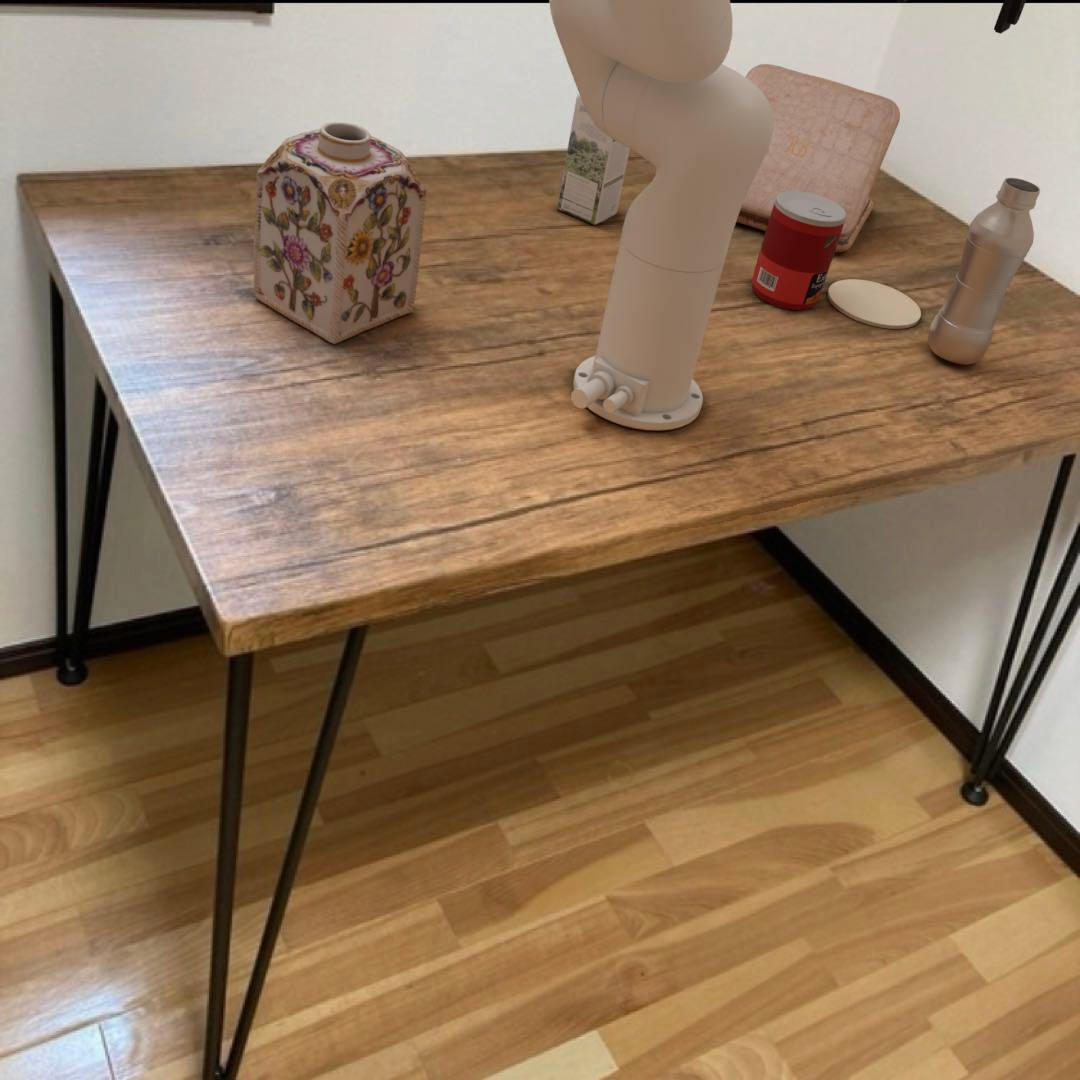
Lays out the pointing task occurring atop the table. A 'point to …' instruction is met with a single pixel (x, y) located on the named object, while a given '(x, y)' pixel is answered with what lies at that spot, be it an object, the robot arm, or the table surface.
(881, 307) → the coaster
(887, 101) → the case
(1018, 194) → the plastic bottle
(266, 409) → the table surface
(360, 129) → the decorative jar
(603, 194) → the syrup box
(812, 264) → the canned food
